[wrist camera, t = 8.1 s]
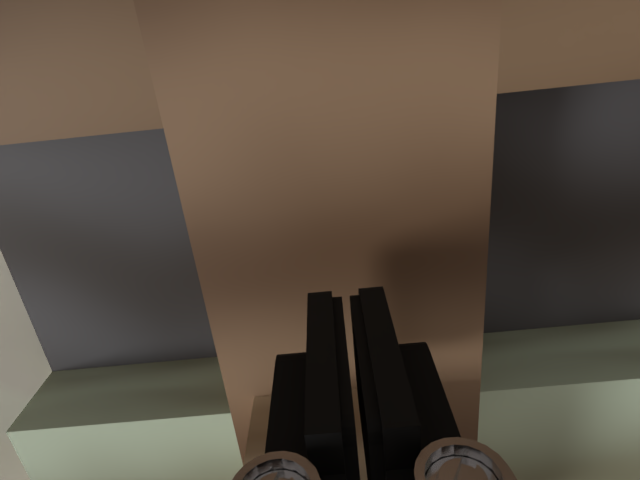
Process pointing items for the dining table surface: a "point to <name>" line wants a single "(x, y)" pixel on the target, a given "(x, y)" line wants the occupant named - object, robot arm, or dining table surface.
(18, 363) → the dining table surface
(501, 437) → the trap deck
